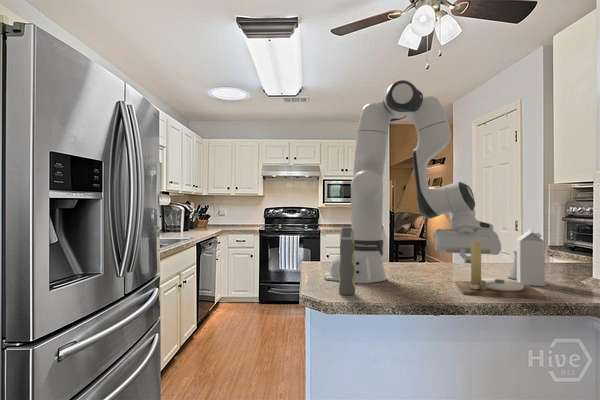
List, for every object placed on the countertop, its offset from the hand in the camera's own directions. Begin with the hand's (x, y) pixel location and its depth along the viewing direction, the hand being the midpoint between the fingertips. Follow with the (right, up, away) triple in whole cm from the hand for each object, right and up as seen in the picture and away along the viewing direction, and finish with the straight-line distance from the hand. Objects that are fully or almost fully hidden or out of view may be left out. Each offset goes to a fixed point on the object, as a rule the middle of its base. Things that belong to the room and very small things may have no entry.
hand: (469, 262), depth 121 cm
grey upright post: (-41, -8, -8) cm, 42 cm away
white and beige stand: (+6, -7, -4) cm, 10 cm away
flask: (+25, -9, +16) cm, 31 cm away
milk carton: (+24, -9, +7) cm, 27 cm away
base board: (+7, -8, -3) cm, 11 cm away
